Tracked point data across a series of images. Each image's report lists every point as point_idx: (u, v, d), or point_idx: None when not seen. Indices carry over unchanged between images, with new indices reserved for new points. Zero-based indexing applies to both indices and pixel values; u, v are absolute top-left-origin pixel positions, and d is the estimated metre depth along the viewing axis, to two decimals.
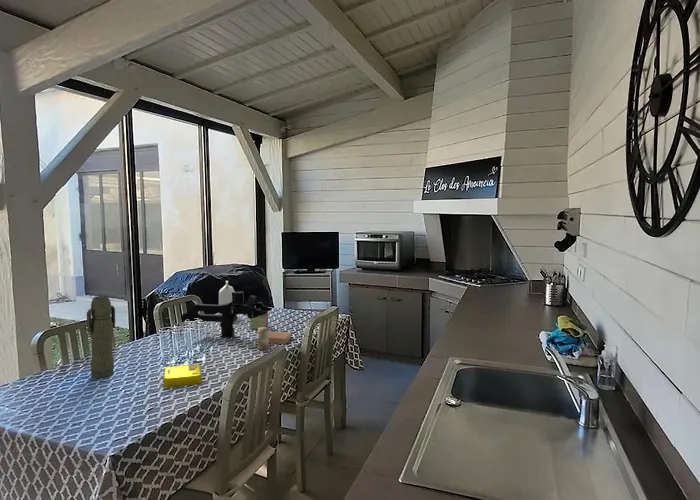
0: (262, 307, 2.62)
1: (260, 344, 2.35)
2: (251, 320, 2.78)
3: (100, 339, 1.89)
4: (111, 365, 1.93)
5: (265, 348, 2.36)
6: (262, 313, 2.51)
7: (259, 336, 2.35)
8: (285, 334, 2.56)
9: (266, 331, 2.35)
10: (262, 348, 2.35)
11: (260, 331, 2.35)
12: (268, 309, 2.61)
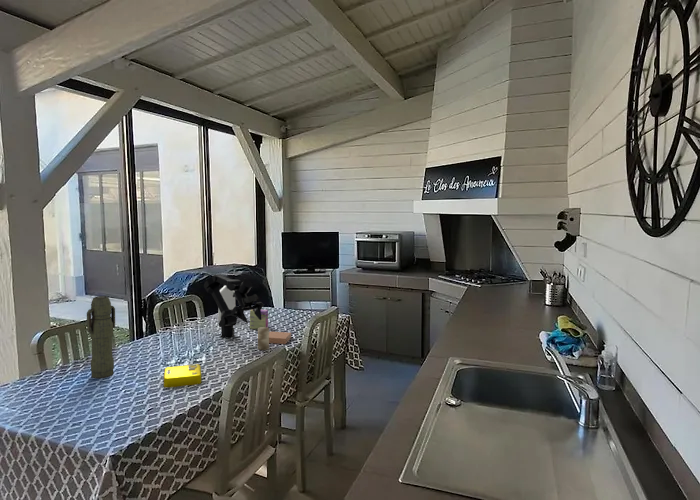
0: (257, 310, 2.48)
1: (260, 344, 2.35)
2: (251, 320, 2.78)
3: (100, 339, 1.89)
4: (111, 365, 1.93)
5: (265, 348, 2.36)
6: (243, 319, 2.40)
7: (259, 336, 2.35)
8: (285, 334, 2.56)
9: (266, 331, 2.35)
10: (262, 348, 2.35)
11: (260, 331, 2.35)
12: (259, 317, 2.47)
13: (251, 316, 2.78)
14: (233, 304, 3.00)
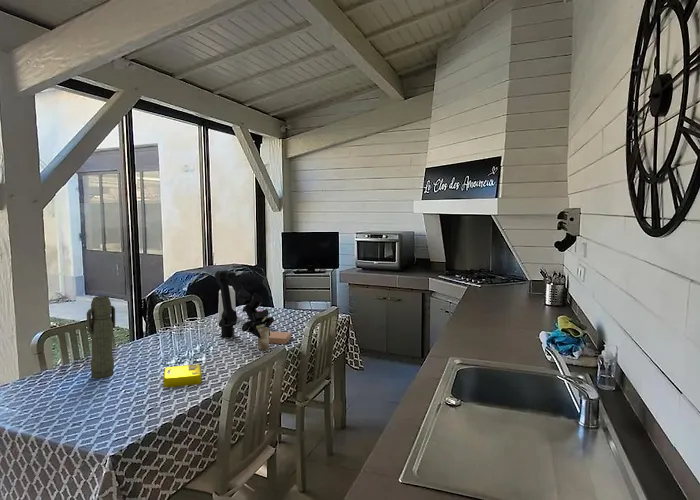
0: (266, 326, 2.42)
1: (260, 344, 2.35)
2: None
3: (100, 339, 1.89)
4: (111, 365, 1.93)
5: (265, 348, 2.36)
6: (256, 335, 2.35)
7: None
8: (285, 334, 2.56)
9: (266, 331, 2.35)
10: (262, 348, 2.35)
11: (260, 331, 2.35)
12: None
13: None
14: (233, 304, 3.00)
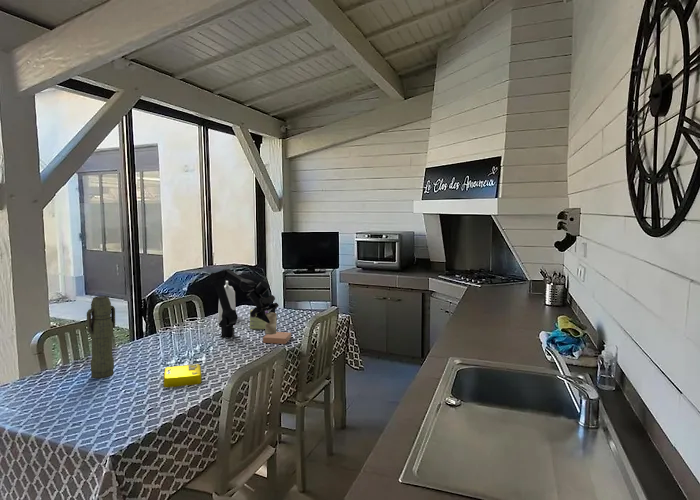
0: (272, 311, 2.47)
1: (269, 329, 2.41)
2: (251, 320, 2.78)
3: (100, 339, 1.89)
4: (111, 365, 1.93)
5: (274, 332, 2.42)
6: (265, 320, 2.40)
7: None
8: (285, 334, 2.56)
9: (275, 316, 2.42)
10: (271, 333, 2.41)
11: (269, 316, 2.40)
12: None
13: None
14: (233, 304, 3.00)
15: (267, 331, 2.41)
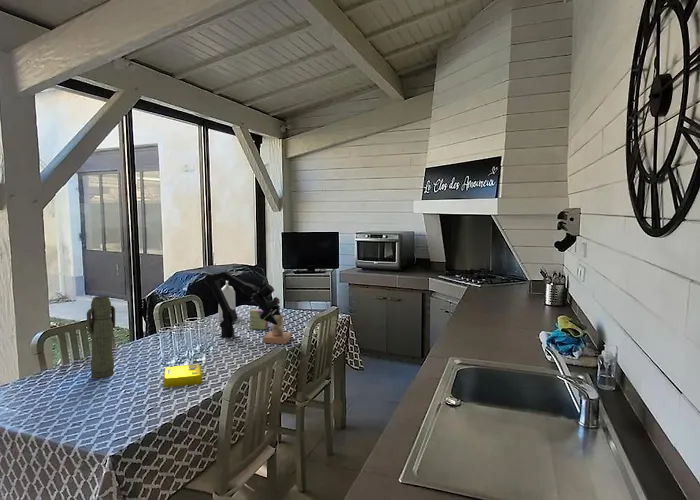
0: (277, 312, 2.59)
1: (278, 331, 2.52)
2: (251, 320, 2.78)
3: (100, 339, 1.89)
4: (111, 365, 1.93)
5: (281, 334, 2.53)
6: (273, 322, 2.49)
7: None
8: (285, 334, 2.56)
9: (282, 318, 2.53)
10: (279, 334, 2.52)
11: (277, 319, 2.51)
12: None
13: (251, 316, 2.78)
14: (233, 304, 3.00)
15: (275, 333, 2.52)
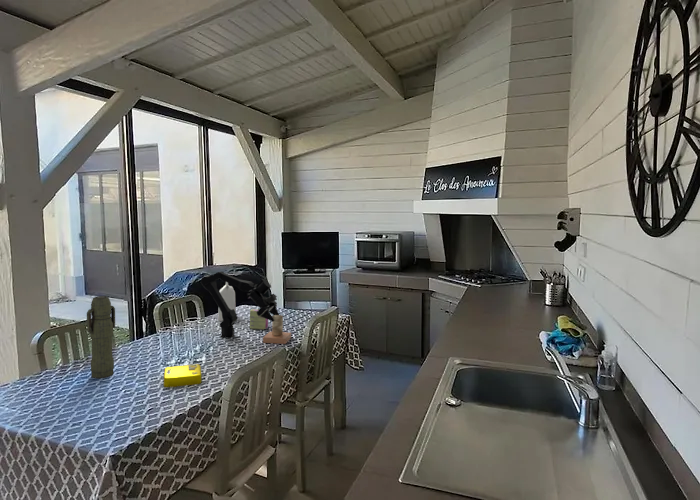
0: (274, 309, 2.59)
1: (278, 331, 2.51)
2: (251, 320, 2.78)
3: (100, 339, 1.89)
4: (111, 365, 1.93)
5: (281, 334, 2.53)
6: (270, 318, 2.49)
7: (276, 323, 2.51)
8: (285, 334, 2.56)
9: (282, 318, 2.53)
10: (279, 334, 2.52)
11: (277, 319, 2.51)
12: None
13: (251, 316, 2.78)
14: (233, 304, 3.00)
15: (275, 333, 2.52)
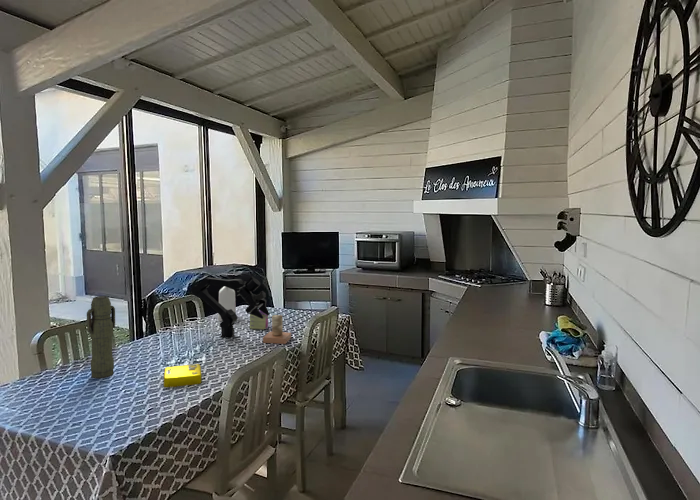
0: (263, 306, 2.60)
1: (278, 331, 2.52)
2: (251, 320, 2.78)
3: (100, 339, 1.89)
4: (111, 365, 1.93)
5: (281, 334, 2.53)
6: (259, 316, 2.50)
7: (276, 323, 2.51)
8: (285, 334, 2.56)
9: (282, 318, 2.53)
10: (279, 334, 2.52)
11: (277, 318, 2.51)
12: (266, 312, 2.60)
13: (251, 316, 2.78)
14: (233, 304, 3.00)
15: (275, 333, 2.52)
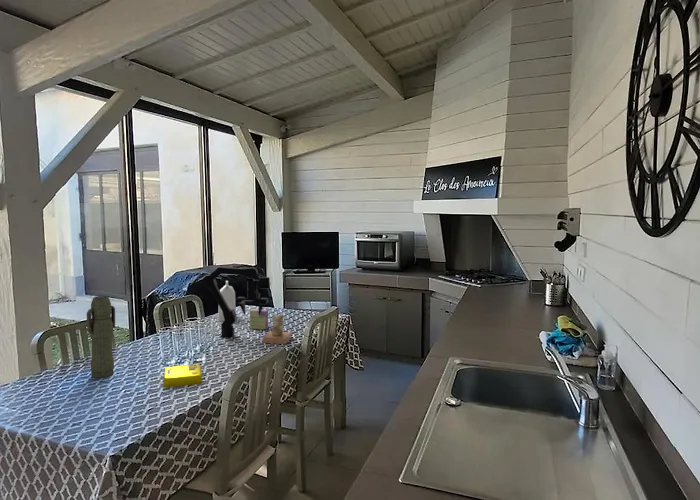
0: (244, 304, 2.61)
1: (278, 331, 2.52)
2: (251, 320, 2.78)
3: (100, 339, 1.89)
4: (111, 365, 1.93)
5: (281, 334, 2.53)
6: (260, 311, 2.59)
7: (277, 323, 2.51)
8: (285, 334, 2.56)
9: (282, 318, 2.53)
10: (279, 334, 2.52)
11: (278, 318, 2.51)
12: (244, 311, 2.61)
13: (251, 316, 2.78)
14: (233, 304, 3.00)
15: (276, 333, 2.52)
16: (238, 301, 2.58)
